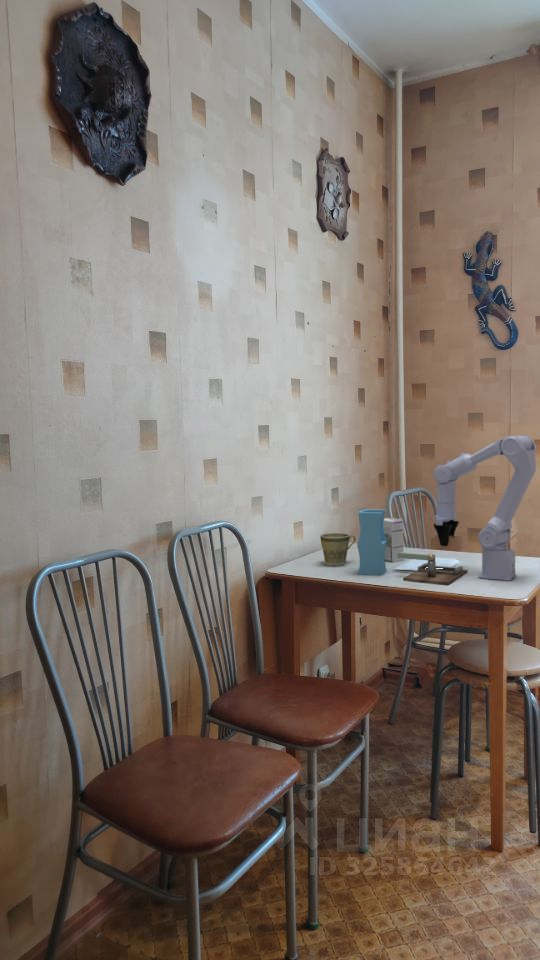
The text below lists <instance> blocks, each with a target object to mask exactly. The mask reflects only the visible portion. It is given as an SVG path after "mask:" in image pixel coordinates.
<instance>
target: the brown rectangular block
mask: <svg viewBox="0 0 540 960" xmlns="http://www.w3.org/2000/svg"><path fill="white" fill-rule="evenodd" d="M430 550H441V551H442V550H443V551H451V552H452V551H454V552H459V551H462V550H463V536H459V535H454V536H449V541H448V546H441V545H440V541H439V537H438V534H433V535H431V536H430Z"/></svg>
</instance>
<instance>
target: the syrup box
mask: <svg viewBox="0 0 540 960" xmlns="http://www.w3.org/2000/svg"><path fill="white" fill-rule="evenodd" d="M383 528H384V534H385V537H386V540H387V545H386V550H385V562H392V563H396V562H401V561H402V562H403V561H404V558H397V553H398V552H403V553H404V521H403V519H402V518H396V517H386V518H385V517H384V523H383Z"/></svg>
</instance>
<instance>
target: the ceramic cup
mask: <svg viewBox="0 0 540 960" xmlns="http://www.w3.org/2000/svg"><path fill="white" fill-rule="evenodd" d="M319 537H320V543H321V547H322V553H323V556H324V562H325V565H326V566H328V567H329V566H330V567H340V566H344V565H346V563H347V555H348V550H350V548H351V546H352V545H354V544H355V542H356V536H355V535H353V534H348V533H343V532H341V533H340V532H329V533H328V532H327V533H322V534H320V535H319ZM351 538H353V542H352V543H351V544H350V539H351Z"/></svg>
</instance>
